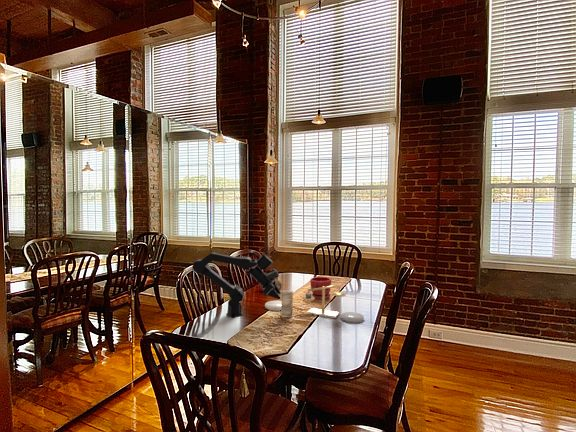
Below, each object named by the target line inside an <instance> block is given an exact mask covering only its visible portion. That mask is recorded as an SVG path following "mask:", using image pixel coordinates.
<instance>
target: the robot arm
mask: <svg viewBox="0 0 576 432" xmlns="http://www.w3.org/2000/svg"><path fill="white" fill-rule="evenodd" d="M213 261H214V262H218V263H224V264H229V265H233V266H236V267H238V268H240V269H243V270H246V271H245V274H246V275H245V276H246V277H248V276H249V275H251V277H252V278H253V279H254V280H256V283H258V284H260V286H261V285H262V287H261V289H262V288H263V289H262V294H263V295H264V296H268V297H271V298H273V299H276V300H280V299H281V297H280V295H281V290H280V291H279V289H278V287H277V286H276V280H277V278H279V276H280V274H279V271H278V270H277V269H275V268H272V269H270V272H269V273H267V272H264V270H265V271H266V270H267V269H268V268H269V267H271V265H272V264H273V263H274V261H273V260H272V259H271V258H270V257H269V256H267V255H266V254H265V253H263V254H261V256H260V257H259V258H258V259H255V258H253V259H252V258H251V257H250V256H233V255H228V254H223V253H218V252H214V251H212V252H210V253H209V254H208V255H207V256H205V257H202V258H199V259H197V260H196V261H194V262H193V264H192V270H193V271H194V272H196V273H198V274H200V275H203V276H206V277H207V278H208V279H209V280H210V281H212V282H213V283H215V284H216V285H217V286H218V287H219V288H220V289H222V290H223V291H224V292H226V293H227V295H228V297H229V299H228V301H227V313H226V316H228V317H231V318H236V317H240V316H243V313H242V303H241V302H242V301H243V298H244V297H245V292H244V290H243V288H242V287H241V286H239V285H238V284H236V285H233V284H231V283H230V282H228V281H227V280H226V279H225V278H223V277H222V276H221V275H220V274H219V273H217V272H216V271H214V270H213V269H212V268H211V266H210V263H211V262H213ZM275 279H276V280H275ZM273 280H274V281H273Z"/></svg>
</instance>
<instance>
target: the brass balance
mask: <svg viewBox="0 0 576 432" xmlns="http://www.w3.org/2000/svg"><path fill="white" fill-rule="evenodd" d="M340 287H341V285H340V284H336V285H331V286H328V287H325V286H323V287H321V288H314V289H311V288H310V289H309V288H308V292H307V293H305V295H303V296H301V300H304V301H308V302H310V301H311V302H312V301H315V299H316V298H315V297H313V296H312V293H310V292H312V291H313V290H320V289H322V299H321V309H320V308H315V307H311V308H310V309H308V311H307V312H306V313H310V314H309V315H311V314H316V315H315V316H317V315H319V317H324V318H331V319H336V318H337V317H339V315H340V311H335V310H327V309H325V306H326V304H325V303H326V302H325V301H326V299H325V289H327V288H331V289H332V288H338V291H332V295H333V296H334V297H346V296H347V294H346V293H345V292H343V291H340Z"/></svg>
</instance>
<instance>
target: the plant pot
mask: <svg viewBox="0 0 576 432" xmlns="http://www.w3.org/2000/svg"><path fill="white" fill-rule="evenodd" d="M323 286H325V287H328V286H332V279H331V278H330V277H327V276H315V277H314V276H313V277H311V278H310V289H314V288H321V287H323ZM331 289H332V288H327V289H325V300H326V299H329V298H330V297H331V293H330V291H331ZM311 292H312V293H311V296H313V297H315V299H316V298H317V300H322V289H320V290H313V291H311Z"/></svg>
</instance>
